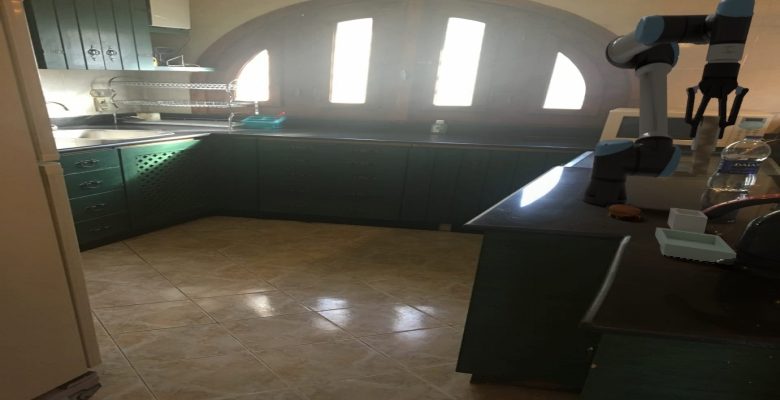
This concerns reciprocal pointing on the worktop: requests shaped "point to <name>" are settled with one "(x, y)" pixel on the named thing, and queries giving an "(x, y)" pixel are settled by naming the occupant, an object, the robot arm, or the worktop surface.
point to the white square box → (687, 220)
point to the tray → (693, 245)
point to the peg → (704, 145)
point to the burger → (624, 212)
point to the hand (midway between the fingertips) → (702, 150)
